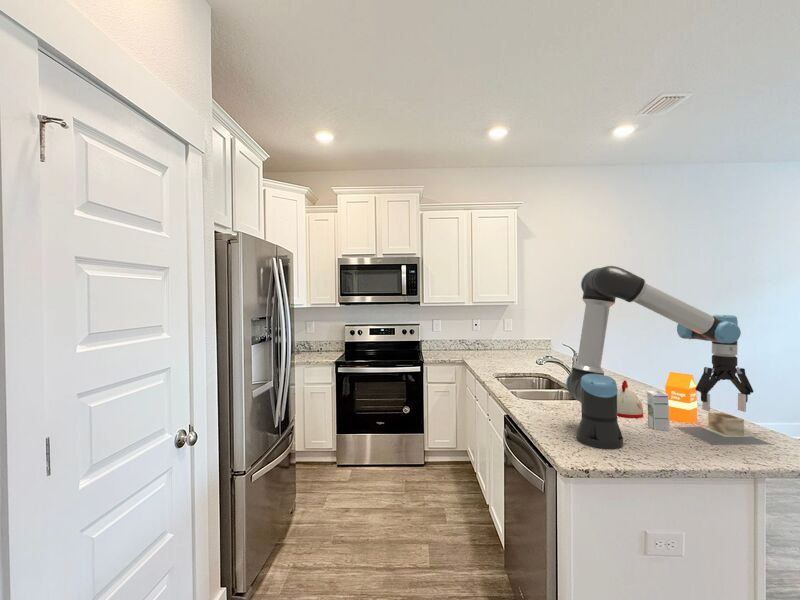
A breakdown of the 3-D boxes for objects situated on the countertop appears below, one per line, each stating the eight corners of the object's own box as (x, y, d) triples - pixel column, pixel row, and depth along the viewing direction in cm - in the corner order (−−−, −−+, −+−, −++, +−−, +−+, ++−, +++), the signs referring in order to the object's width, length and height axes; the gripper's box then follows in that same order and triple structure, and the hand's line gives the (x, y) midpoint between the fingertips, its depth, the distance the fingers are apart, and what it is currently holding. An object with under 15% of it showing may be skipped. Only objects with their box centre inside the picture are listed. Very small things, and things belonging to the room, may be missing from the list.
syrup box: (670, 431, 149) (669, 394, 149) (653, 430, 151) (652, 393, 151) (663, 427, 155) (662, 391, 155) (647, 426, 156) (646, 390, 156)
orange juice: (689, 424, 158) (688, 375, 158) (665, 419, 165) (664, 372, 165) (697, 421, 162) (696, 373, 162) (673, 416, 169) (673, 370, 170)
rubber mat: (712, 446, 134) (712, 444, 134) (673, 428, 153) (673, 426, 153) (772, 445, 134) (772, 443, 134) (726, 428, 153) (726, 426, 153)
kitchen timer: (604, 414, 173) (604, 381, 173) (611, 408, 183) (611, 376, 184) (640, 420, 164) (640, 385, 164) (645, 413, 174) (645, 380, 175)
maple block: (708, 427, 152) (708, 412, 152) (723, 427, 152) (723, 412, 152) (727, 435, 143) (727, 419, 143) (744, 435, 143) (743, 419, 143)
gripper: (699, 356, 144) (698, 412, 144) (766, 356, 143) (766, 413, 143) (684, 353, 151) (684, 407, 151) (748, 354, 151) (747, 408, 151)
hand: (724, 410), depth 147 cm, fingers open, 13 cm apart
